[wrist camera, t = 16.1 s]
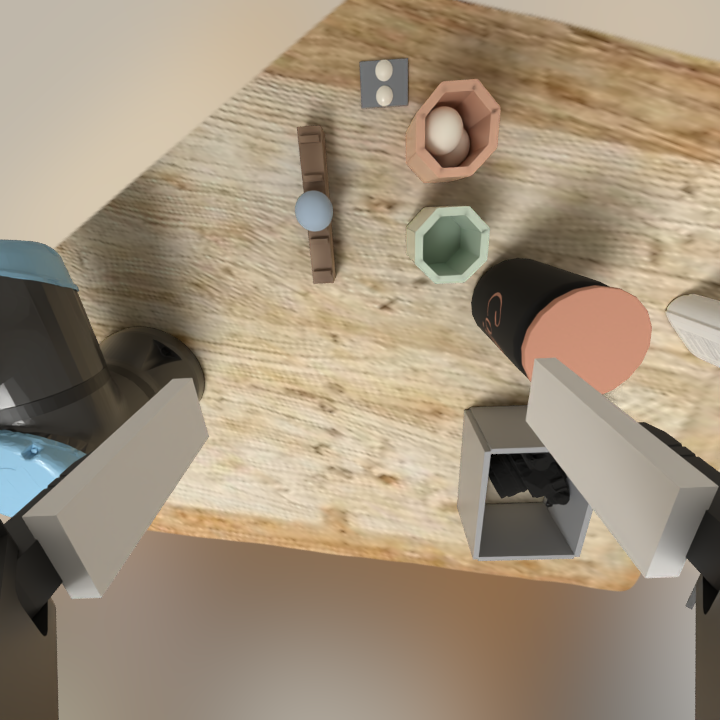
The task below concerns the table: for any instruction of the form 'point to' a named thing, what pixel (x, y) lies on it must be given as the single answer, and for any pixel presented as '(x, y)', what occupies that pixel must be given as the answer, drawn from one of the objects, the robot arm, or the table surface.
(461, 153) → the cream ball
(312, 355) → the table surface
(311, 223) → the blue ball
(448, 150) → the cream ball
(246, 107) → the table surface
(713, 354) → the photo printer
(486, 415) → the box
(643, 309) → the coffee jar
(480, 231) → the tubes
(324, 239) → the rack
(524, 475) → the film camera
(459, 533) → the table surface
